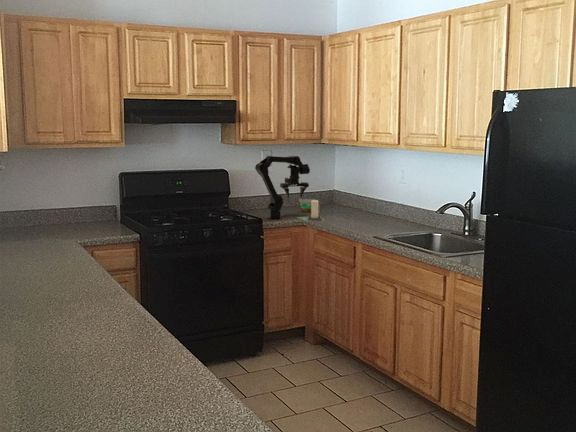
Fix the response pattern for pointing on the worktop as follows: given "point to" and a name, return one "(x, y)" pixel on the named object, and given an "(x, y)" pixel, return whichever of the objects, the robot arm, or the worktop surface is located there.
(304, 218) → the board
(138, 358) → the worktop surface
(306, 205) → the food container
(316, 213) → the plug
